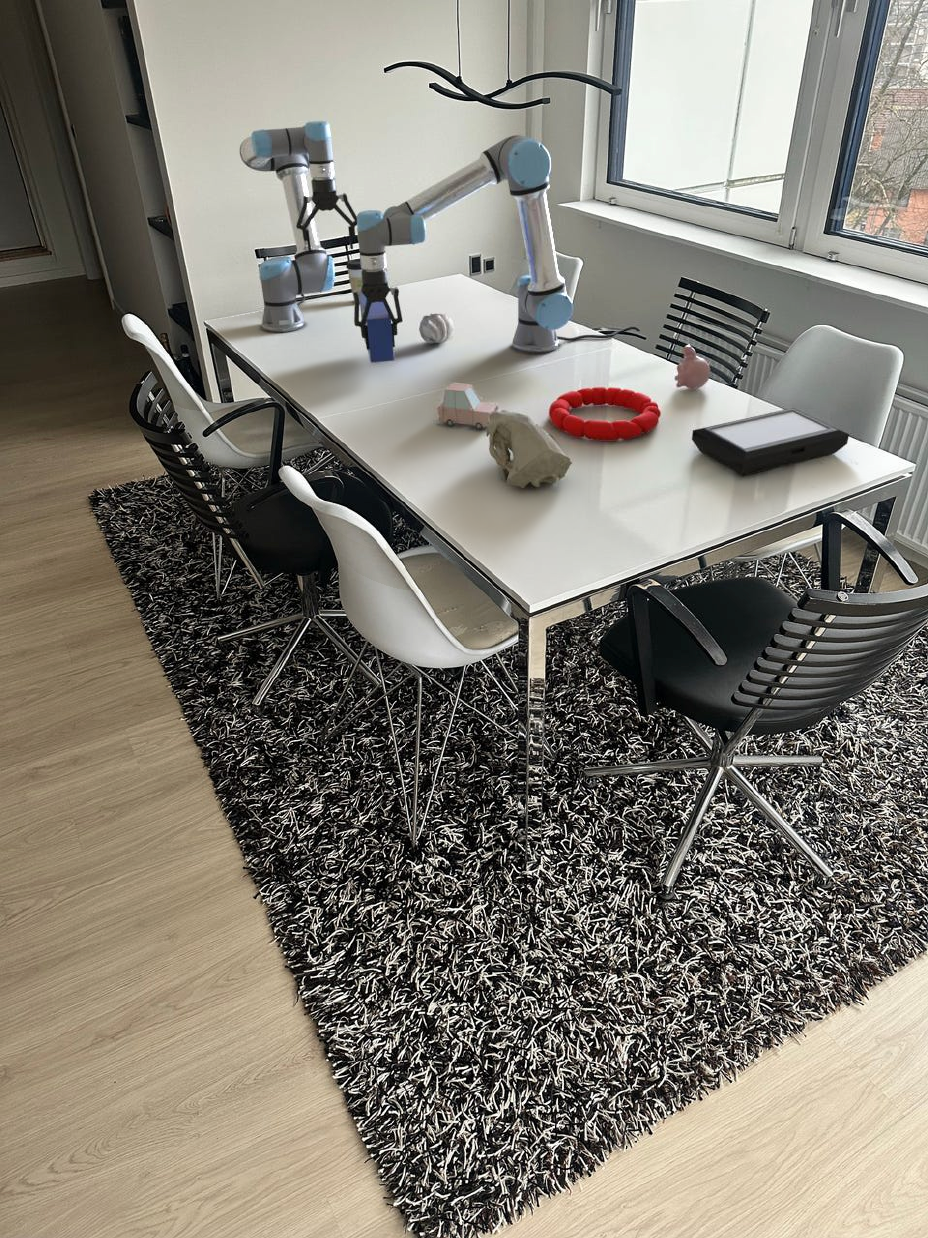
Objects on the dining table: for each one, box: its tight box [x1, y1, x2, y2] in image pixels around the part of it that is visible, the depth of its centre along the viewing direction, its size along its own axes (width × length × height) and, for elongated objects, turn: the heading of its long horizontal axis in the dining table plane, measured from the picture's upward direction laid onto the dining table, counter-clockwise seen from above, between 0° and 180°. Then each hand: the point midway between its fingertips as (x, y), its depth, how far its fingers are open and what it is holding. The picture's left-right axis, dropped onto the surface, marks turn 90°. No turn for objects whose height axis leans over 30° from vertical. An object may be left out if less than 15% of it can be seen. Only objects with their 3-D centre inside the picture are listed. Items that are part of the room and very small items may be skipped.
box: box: [359, 294, 395, 363], centre depth 281 cm, size 30×7×13 cm, turn 10°
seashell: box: [418, 312, 454, 344], centre depth 302 cm, size 10×15×10 cm
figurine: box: [674, 344, 711, 390], centre depth 259 cm, size 9×11×12 cm
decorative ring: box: [548, 386, 661, 442], centre depth 242 cm, size 7×30×30 cm
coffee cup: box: [346, 258, 363, 305], centre depth 347 cm, size 10×10×15 cm
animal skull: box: [485, 409, 573, 489], centre depth 216 cm, size 17×25×20 cm
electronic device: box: [691, 407, 850, 477], centre depth 222 cm, size 32×6×20 cm
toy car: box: [437, 382, 499, 431], centre depth 243 cm, size 9×15×10 cm, turn 70°
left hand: (330, 249), depth 290 cm, fingers open, 13 cm apart
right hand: (380, 346), depth 273 cm, fingers closed on box, 7 cm apart
